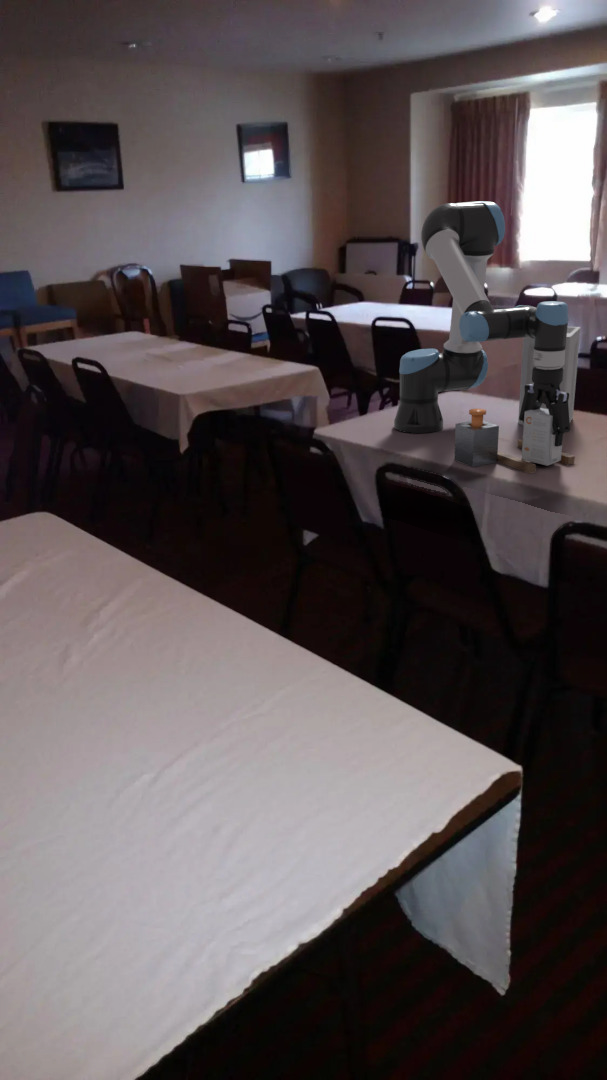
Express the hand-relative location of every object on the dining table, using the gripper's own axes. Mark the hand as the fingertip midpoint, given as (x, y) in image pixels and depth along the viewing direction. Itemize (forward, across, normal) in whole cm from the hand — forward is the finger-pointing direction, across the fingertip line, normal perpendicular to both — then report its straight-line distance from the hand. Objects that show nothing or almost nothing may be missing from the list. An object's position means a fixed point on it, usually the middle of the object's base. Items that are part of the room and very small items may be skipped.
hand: (541, 453), depth 209 cm
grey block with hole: (+3, -12, -12) cm, 17 cm away
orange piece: (-4, -12, -12) cm, 17 cm away
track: (+3, -6, 0) cm, 7 cm away
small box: (+2, 0, 0) cm, 2 cm away
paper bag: (+4, -31, +28) cm, 42 cm away
